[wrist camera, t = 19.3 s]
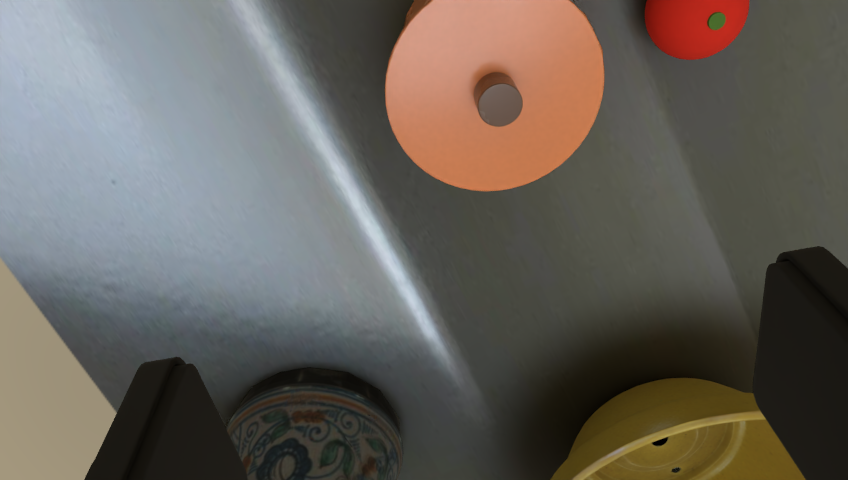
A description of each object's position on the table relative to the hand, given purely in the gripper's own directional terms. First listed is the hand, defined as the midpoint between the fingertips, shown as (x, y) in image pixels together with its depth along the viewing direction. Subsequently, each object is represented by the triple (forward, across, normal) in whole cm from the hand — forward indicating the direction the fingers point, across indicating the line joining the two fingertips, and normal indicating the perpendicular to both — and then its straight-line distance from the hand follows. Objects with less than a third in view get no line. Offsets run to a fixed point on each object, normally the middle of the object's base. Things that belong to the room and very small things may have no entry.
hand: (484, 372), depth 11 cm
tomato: (+36, -17, +4) cm, 40 cm away
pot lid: (+27, -3, +5) cm, 28 cm away
